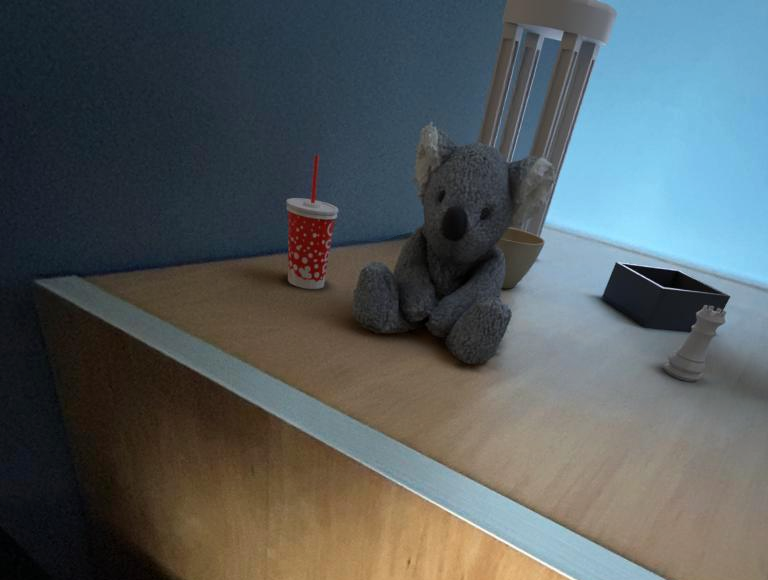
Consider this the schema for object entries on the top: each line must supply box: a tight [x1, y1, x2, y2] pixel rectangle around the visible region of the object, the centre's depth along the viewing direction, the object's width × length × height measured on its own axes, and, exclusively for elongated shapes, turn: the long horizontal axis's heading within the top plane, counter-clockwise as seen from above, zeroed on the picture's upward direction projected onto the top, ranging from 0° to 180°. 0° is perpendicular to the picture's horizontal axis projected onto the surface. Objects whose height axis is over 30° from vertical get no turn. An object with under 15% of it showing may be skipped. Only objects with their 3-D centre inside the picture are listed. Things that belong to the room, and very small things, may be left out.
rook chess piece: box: [663, 305, 727, 383], centre depth 67 cm, size 4×4×8 cm
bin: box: [601, 261, 731, 332], centre depth 87 cm, size 12×12×6 cm
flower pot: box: [495, 227, 546, 289], centre depth 86 cm, size 10×10×7 cm
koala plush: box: [352, 121, 558, 365], centre depth 61 cm, size 17×18×20 cm
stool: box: [476, 0, 618, 237], centre depth 93 cm, size 16×16×35 cm
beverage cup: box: [285, 154, 339, 290], centre depth 68 cm, size 6×6×14 cm
